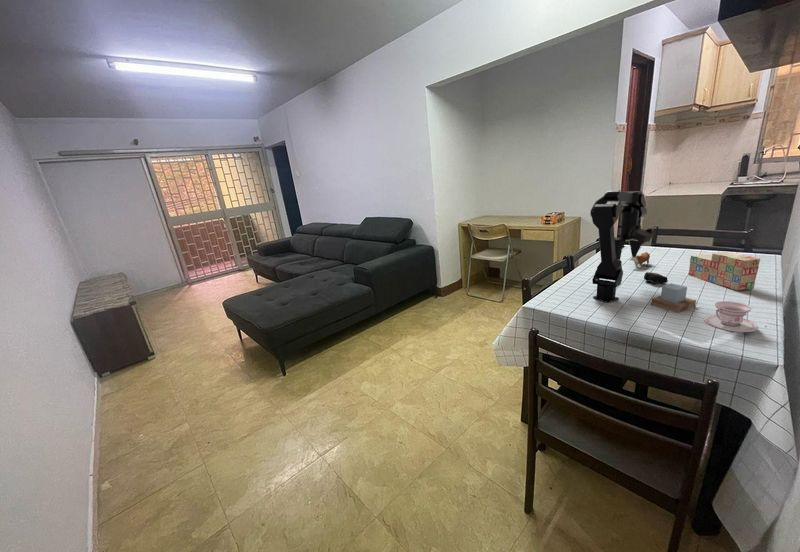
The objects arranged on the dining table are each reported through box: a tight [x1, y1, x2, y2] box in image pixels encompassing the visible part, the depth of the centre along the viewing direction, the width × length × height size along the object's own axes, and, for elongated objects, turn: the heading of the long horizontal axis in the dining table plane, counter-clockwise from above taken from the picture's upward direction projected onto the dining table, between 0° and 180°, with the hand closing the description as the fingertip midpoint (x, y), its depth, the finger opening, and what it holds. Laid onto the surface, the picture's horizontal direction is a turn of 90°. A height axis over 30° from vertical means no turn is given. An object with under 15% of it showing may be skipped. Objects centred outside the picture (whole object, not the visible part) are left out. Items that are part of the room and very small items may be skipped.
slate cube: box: [660, 282, 688, 303], centre depth 114 cm, size 5×5×5 cm
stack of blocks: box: [688, 251, 761, 292], centre depth 129 cm, size 21×6×12 cm, turn 2°
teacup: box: [703, 300, 759, 333], centre depth 99 cm, size 12×12×6 cm
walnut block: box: [650, 295, 697, 313], centre depth 115 cm, size 9×9×3 cm
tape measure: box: [643, 271, 669, 284], centre depth 137 cm, size 7×7×4 cm
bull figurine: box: [629, 251, 651, 269], centre depth 156 cm, size 4×13×8 cm, turn 115°
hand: (626, 258), depth 134 cm, fingers open, 9 cm apart
